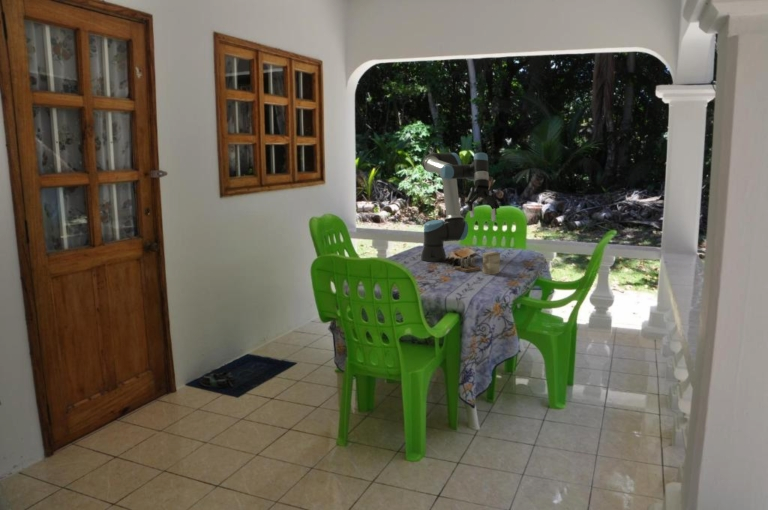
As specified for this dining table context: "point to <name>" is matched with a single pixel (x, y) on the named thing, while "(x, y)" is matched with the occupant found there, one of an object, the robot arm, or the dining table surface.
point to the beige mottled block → (491, 263)
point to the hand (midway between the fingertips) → (483, 218)
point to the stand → (467, 265)
